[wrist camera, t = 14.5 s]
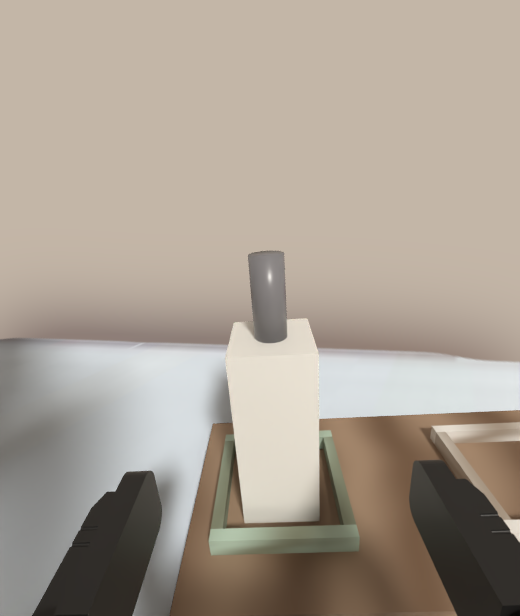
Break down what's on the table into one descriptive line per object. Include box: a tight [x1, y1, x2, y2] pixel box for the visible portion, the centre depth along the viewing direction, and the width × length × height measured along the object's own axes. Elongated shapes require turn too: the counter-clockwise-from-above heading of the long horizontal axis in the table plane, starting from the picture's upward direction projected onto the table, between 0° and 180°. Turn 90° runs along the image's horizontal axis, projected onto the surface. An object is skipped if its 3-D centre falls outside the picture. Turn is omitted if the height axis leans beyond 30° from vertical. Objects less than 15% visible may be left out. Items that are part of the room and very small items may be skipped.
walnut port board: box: [169, 410, 520, 616], centre depth 19 cm, size 24×12×2 cm, turn 89°
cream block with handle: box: [225, 251, 320, 523], centre depth 17 cm, size 4×5×14 cm
